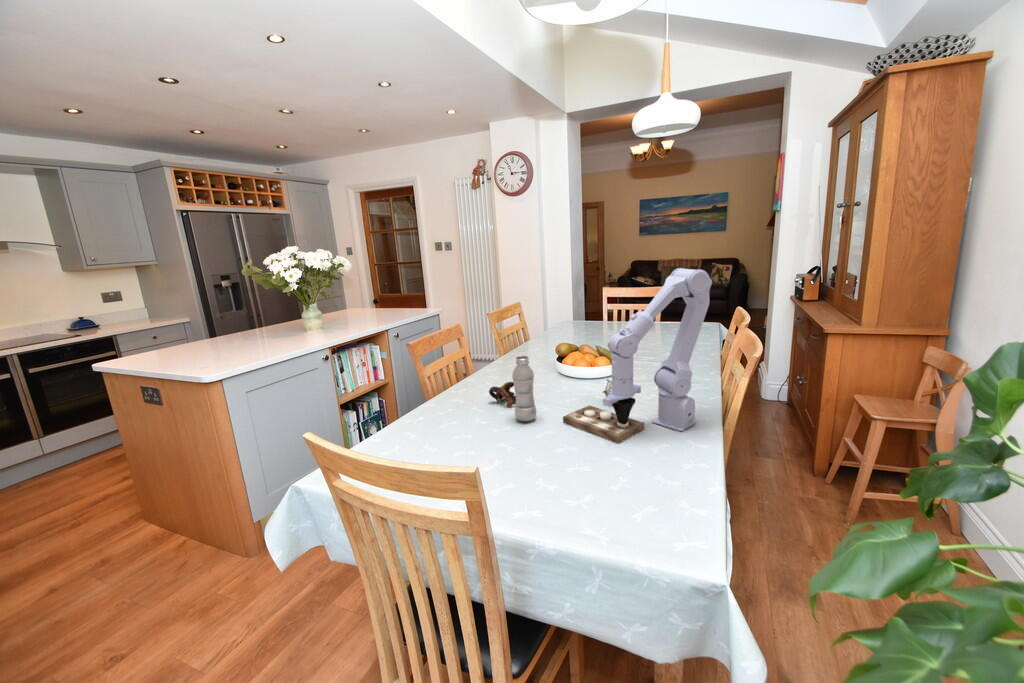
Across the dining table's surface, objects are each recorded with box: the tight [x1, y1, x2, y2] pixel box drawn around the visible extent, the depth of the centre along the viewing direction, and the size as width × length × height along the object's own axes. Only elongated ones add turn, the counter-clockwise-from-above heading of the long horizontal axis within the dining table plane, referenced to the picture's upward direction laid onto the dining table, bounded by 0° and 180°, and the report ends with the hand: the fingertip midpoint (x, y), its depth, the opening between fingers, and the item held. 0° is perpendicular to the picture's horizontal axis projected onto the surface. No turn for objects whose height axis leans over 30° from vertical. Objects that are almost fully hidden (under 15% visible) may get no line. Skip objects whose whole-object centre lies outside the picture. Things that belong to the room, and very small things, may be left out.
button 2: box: [617, 422, 629, 428], centre depth 123 cm, size 3×3×2 cm
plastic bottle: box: [511, 355, 538, 423], centre depth 133 cm, size 6×7×20 cm
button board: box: [562, 404, 645, 444], centre depth 127 cm, size 20×12×2 cm, turn 40°
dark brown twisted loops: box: [488, 381, 516, 408], centre depth 149 cm, size 12×9×8 cm
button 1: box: [584, 410, 595, 416], centre depth 132 cm, size 3×3×2 cm
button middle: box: [600, 410, 612, 422], centre depth 128 cm, size 3×3×2 cm
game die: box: [602, 378, 612, 397], centre depth 143 cm, size 9×8×10 cm
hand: (622, 423), depth 123 cm, fingers closed, pressing on button 2
